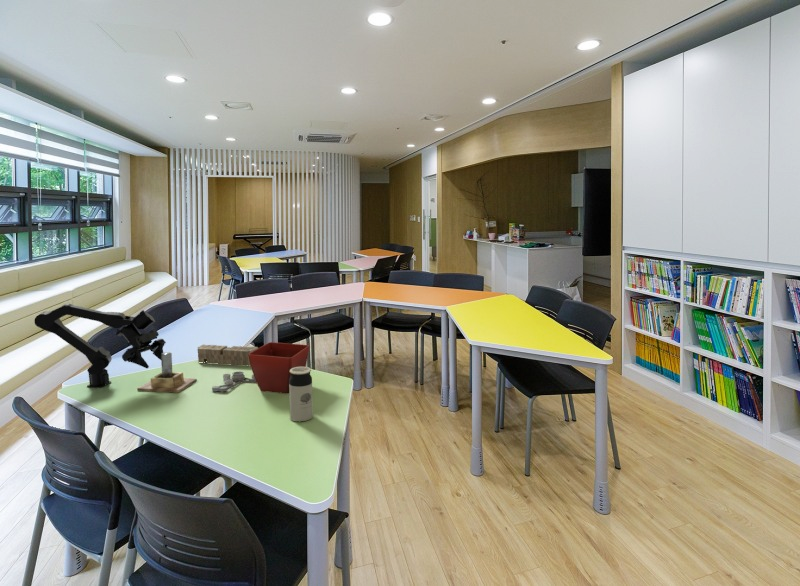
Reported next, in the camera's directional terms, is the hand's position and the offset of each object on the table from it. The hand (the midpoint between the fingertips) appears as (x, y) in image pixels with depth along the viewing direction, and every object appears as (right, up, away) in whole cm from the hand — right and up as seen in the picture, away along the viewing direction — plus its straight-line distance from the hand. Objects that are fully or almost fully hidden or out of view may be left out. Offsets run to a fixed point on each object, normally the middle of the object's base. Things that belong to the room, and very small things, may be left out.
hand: (156, 364), depth 199 cm
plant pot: (+53, -10, -1) cm, 54 cm away
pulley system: (+35, -9, +5) cm, 36 cm away
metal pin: (+5, -8, 0) cm, 9 cm away
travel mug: (+68, -15, -30) cm, 76 cm away
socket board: (+5, -9, 0) cm, 10 cm away
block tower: (+18, -4, +33) cm, 38 cm away
